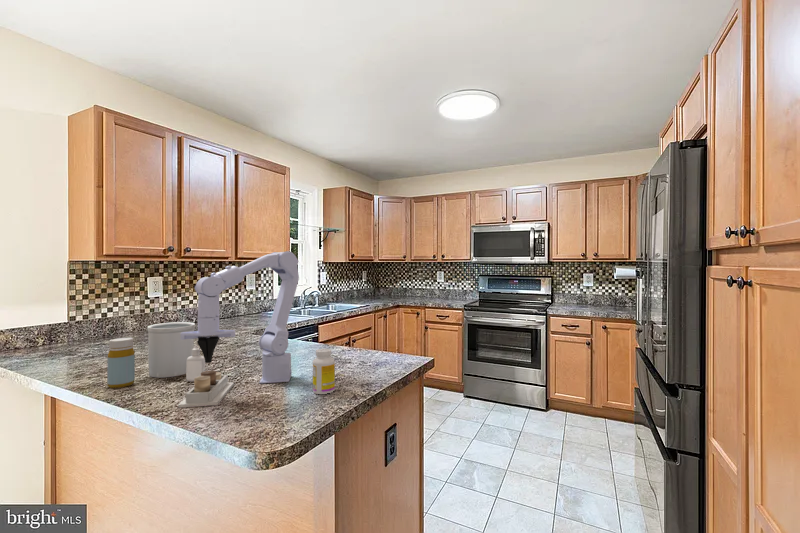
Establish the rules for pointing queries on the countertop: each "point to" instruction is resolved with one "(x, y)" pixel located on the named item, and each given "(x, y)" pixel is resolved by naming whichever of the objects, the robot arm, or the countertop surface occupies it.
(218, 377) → the maple plug
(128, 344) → the bottle
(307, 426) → the countertop surface
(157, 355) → the utensil holder
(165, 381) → the countertop surface
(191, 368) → the eye dropper bottle
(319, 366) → the supplement bottle
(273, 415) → the countertop surface
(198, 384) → the maple plug
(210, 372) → the walnut plug
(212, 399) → the white compartment tray
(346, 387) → the countertop surface
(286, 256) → the robot arm
